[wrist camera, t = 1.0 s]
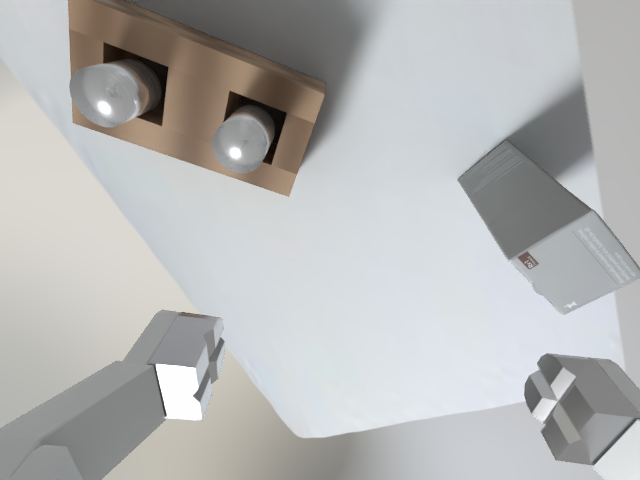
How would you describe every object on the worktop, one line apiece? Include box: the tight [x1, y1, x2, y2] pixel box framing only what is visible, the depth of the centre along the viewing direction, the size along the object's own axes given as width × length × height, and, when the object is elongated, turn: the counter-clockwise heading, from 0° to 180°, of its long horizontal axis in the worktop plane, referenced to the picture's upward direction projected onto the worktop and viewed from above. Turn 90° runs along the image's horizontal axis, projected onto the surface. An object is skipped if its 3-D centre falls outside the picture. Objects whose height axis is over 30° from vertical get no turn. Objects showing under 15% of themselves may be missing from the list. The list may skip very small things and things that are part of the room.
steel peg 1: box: [70, 59, 162, 127], centre depth 26 cm, size 4×4×6 cm
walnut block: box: [68, 0, 326, 197], centre depth 31 cm, size 20×10×6 cm, turn 70°
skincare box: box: [457, 141, 640, 315], centre depth 31 cm, size 8×7×16 cm
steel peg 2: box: [212, 105, 275, 173], centre depth 28 cm, size 4×4×6 cm
